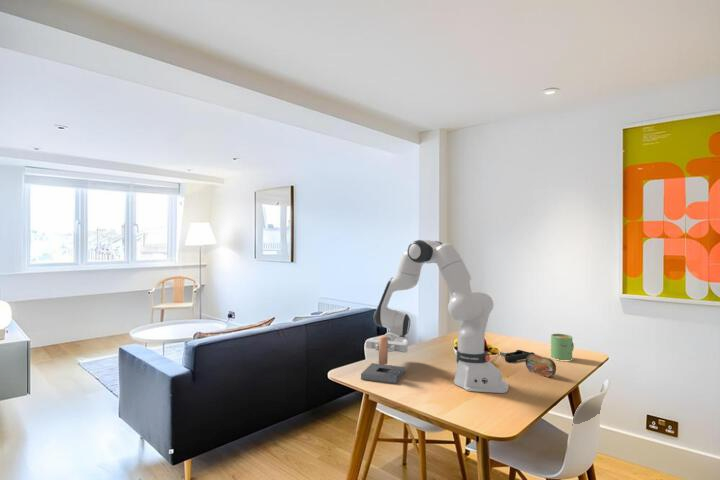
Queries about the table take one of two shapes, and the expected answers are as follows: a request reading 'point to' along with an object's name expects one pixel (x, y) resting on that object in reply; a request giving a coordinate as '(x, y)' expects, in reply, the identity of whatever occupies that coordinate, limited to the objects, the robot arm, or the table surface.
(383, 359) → the pin
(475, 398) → the table surface
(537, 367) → the tin
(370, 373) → the socket plate
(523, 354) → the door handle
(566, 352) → the mug
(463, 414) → the table surface
